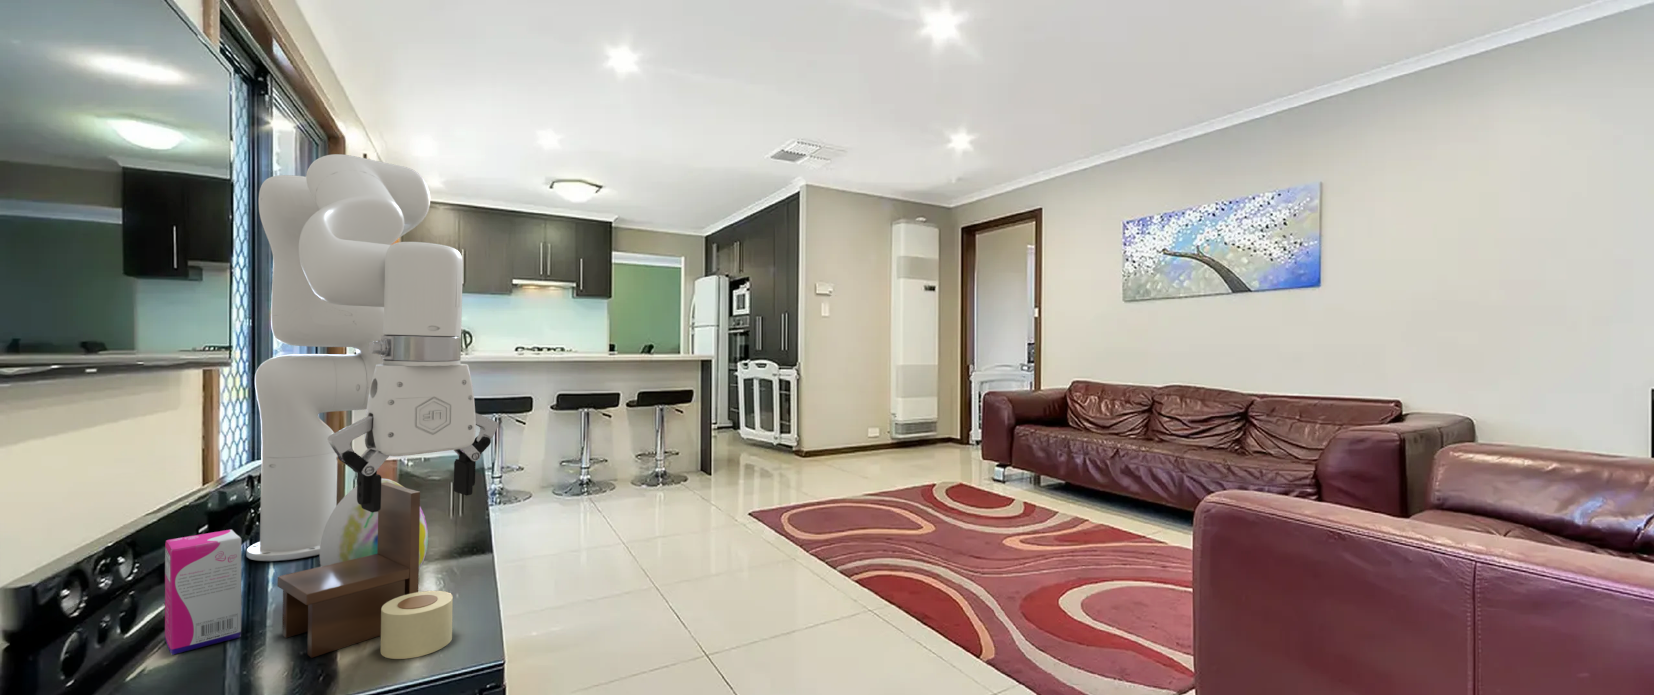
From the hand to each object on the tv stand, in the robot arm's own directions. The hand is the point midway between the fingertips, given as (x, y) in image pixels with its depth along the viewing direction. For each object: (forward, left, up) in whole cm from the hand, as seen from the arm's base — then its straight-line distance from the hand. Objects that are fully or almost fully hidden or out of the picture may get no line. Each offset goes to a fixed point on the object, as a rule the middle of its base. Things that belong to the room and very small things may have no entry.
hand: (419, 501), depth 73 cm
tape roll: (+1, -1, -16) cm, 16 cm away
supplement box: (-20, -14, -16) cm, 29 cm away
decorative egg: (-22, +4, -16) cm, 27 cm away
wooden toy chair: (-9, -4, -16) cm, 19 cm away
